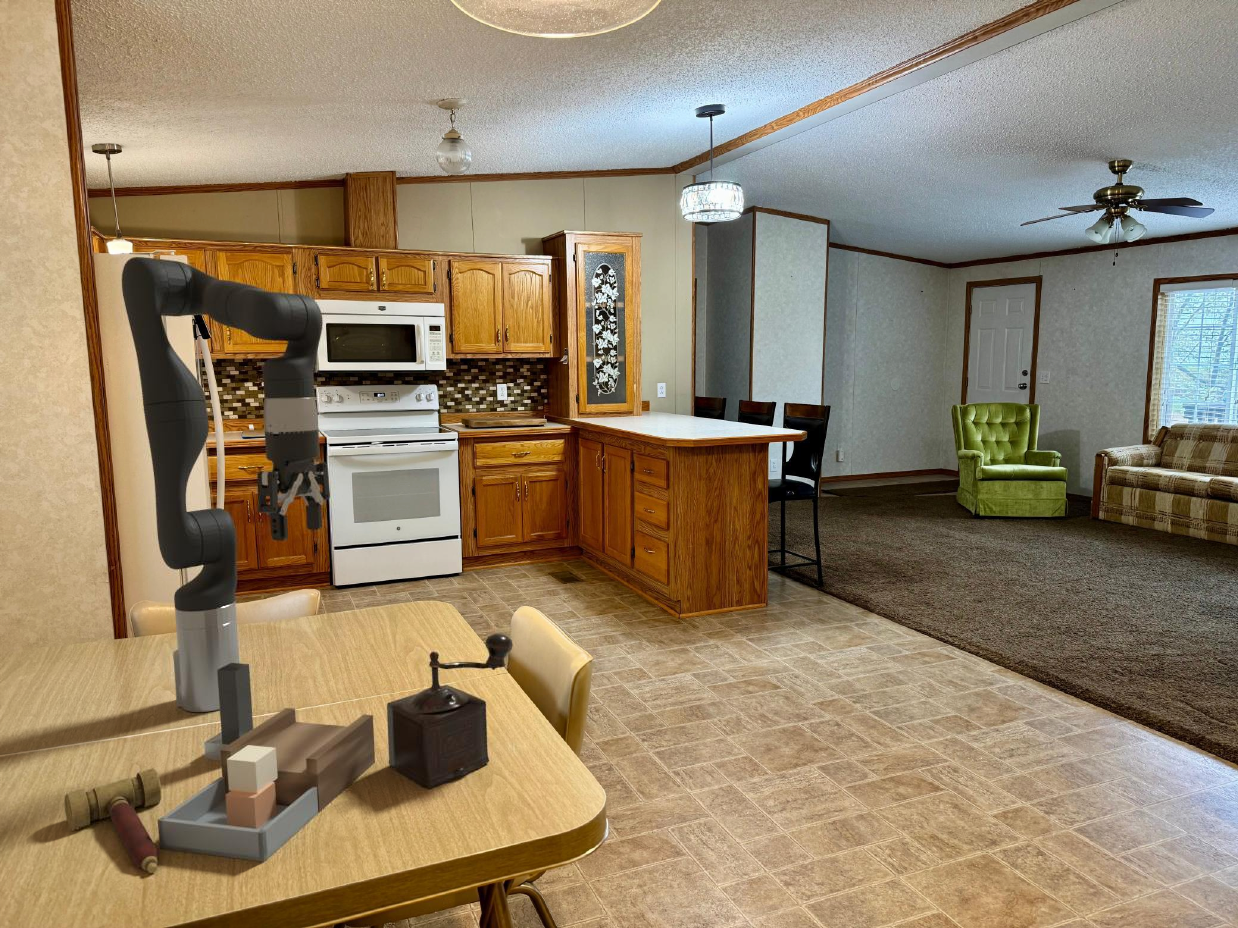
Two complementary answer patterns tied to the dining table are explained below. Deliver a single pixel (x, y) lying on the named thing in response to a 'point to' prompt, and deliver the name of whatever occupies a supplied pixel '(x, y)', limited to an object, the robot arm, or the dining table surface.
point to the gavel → (120, 812)
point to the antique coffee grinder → (442, 725)
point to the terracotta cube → (251, 807)
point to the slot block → (310, 755)
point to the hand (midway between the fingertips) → (297, 534)
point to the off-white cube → (252, 769)
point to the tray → (208, 832)
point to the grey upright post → (231, 708)
